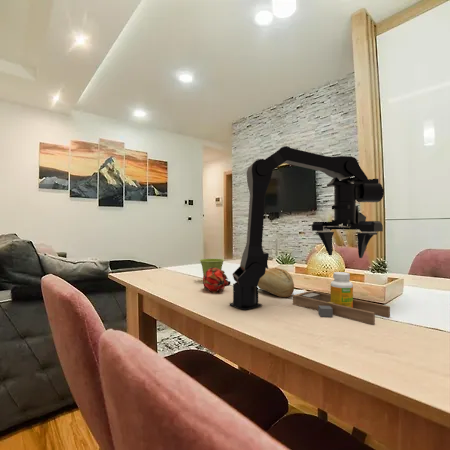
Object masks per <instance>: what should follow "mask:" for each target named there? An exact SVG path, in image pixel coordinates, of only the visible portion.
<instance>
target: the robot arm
mask: <svg viewBox="0 0 450 450" xmlns="http://www.w3.org/2000/svg"><path fill="white" fill-rule="evenodd" d="M282 164H285V165H291V166H296V167H300V168H305V169H310V170H314V171H317V172H318V171H319V172H321V173H323V174H325V175H326V176H328V177H331V178H332V179H331V181H329V182H328V183H327V184H326V187H329V188H331V187H332V188H333V190H334V191H333V200H334V201H333V205H331V210H333V211H334V215H333V217H334V218H333V219H332V220H331V221H313V223H312V224H311V231H312V232H315V234H316V235H318V237H319V239H320V241H321V242H322V243H323V245H324V248H325V250H326V251H327V254H328V256H333V235H334V233H335V231H332V230H349V231H350V230H356V231H357V230H359V231H360V232H357V252H358V258H359V259H362V258H363V257H364V254H365V253H366V250H367V247H368V244H369V242H370V240H371V239H372V238H373V237H374V236H376V235H378V232H383V231H384V226H383V223H382V221H380V220H366V219H367V216H366V215H365V214H363V213H362V212H360V210H359V206H358V205H357V202H358V203H379V202H381V201H382V199H383V197H384V194H385V189H384V188H383V186H382V184H381V183H380V182H379V181H380V180H379V178H371V179H369V177H368V176H367V175H366V174H365V172H364V171H363V169H362V167H361V166H360V164H359V161H358V159H357V158H356V157H354V156H350V155H335V156H329V155H324V154H319V153H314V152H310V151H306V150H300V149H298V148H292V147H289V146H287V145H284V146H282V147H280V148H279V149H278V150H277V151H275V152H274V153H273V154H271V155H269V156H268V157H267V158H265V159H264V158H259V159H256V160H255V161H254V162H253V163H252V164H250V165H249V166H248V168H247V169H246V181H247V187H248V191H249V204H248V217H247V218H248V220H247V230H246V231H247V233H246V235H247V236H246V244H245V247H244V250H243V253H242V255H241V259H240V263H239V267H238V268H237V269H236V270H235V271H233V273H232V278H233V280H234V281H235V283H233V284H232V294H233V295H232V300H233V301H232V302H230V303H229V306H231V307H234V308H237V309H240V310H243V311H246V310H251V309H256V308H259V307H262V306H263V305H262V303H259V287H258V283H259V280H260V278H261V277H262V276H263V275H264V274H265V271H266V270H269V266H268V265H269V264H268V261H269V256H270V254H269V253H268V252H266V251H264V248H263V236H264V221H265V219H264V218H265V208H266V207H265V206H266V196H267V195H266V194H267V191H268V189H269V185H270V183H271V179H272V175H273V171H274V170H276V169H277V168H278V167H279V166H281V165H282Z"/></svg>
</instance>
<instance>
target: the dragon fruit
mask: <svg viewBox="0 0 450 450" xmlns="http://www.w3.org/2000/svg"><path fill="white" fill-rule="evenodd" d="M228 280H229V278H228V276H227V275H226V274H225V270H220V269H218V268H214V267H211V268H209V269H208V270H207V271H206V272H205V273H204V275H203V276H202V282H203V287H204V289H205V291H206V290H209V291H210V292H211V293H213V294H216V293H218V291H224V289H225V287H229V286H230V285H231V283H232V282H231V280H230V281H228Z"/></svg>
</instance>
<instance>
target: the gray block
mask: <svg viewBox="0 0 450 450" xmlns="http://www.w3.org/2000/svg"><path fill="white" fill-rule="evenodd" d="M317 312H318V315H319V316H320V317H321V318H333V317H334V315H333V309H332V308H331V306H320V305H318V311H317Z"/></svg>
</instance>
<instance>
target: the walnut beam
mask: <svg viewBox="0 0 450 450" xmlns="http://www.w3.org/2000/svg"><path fill="white" fill-rule="evenodd" d="M310 293H315V294H320V300H316V299H312V298H308V297H303V296H302V295H306V294H310ZM292 305H295V306H299V307H302V308H307V309H310V310H314V311H317V312H318V305H320V306H331V308H332V309H333V316H337V317H341V318H345V319H349V320H352V321H357V322H361V323H365V324H368V325H372V326H373V325H375V324H376V320H375V319H376V317H375V316H380V317H384V318H390V317H391V306H390V305H386V304H380V303H376V302H375V303H374V302H370V301H365V300H361V299H355V298H353V308H352V307H347V306H343V305H339V304H335V303H333V302H331V293H325V292H320V291H315V290H308V291H304V292H300V293H296V294H292Z"/></svg>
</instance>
